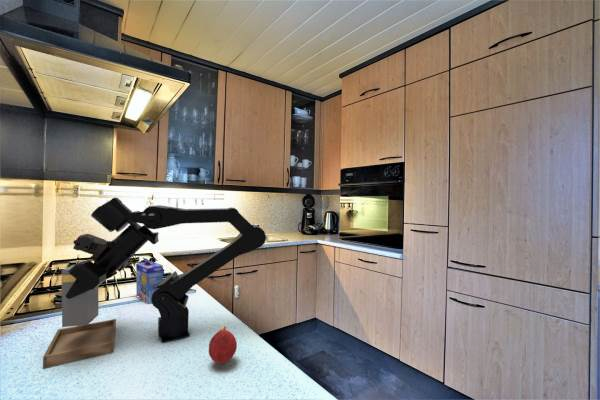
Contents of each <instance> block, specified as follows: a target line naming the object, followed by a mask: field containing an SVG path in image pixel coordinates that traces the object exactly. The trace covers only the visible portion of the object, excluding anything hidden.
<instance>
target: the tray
mask: <svg viewBox="0 0 600 400" xmlns="http://www.w3.org/2000/svg"><path fill="white" fill-rule="evenodd" d="M116 329H117V319H116V318H113V319H109V320H108V319H107V320H104V321H103V320H102V321H97V322H90V323H89V324H88V325H80V326H70V327H62V328H60V329H57V330H56V333H54V336H53V338H52V340H51V341H50V344H49V346H48V347H47V349H46V351H45V353H44V355H43V357H42V369H47V368H53V367H56V366H57V367H58V366H60V365H61V366H62V365H64V364H65V365H66V364H69V363H73V362H77V361H83V360H86V359H92V358H96V357H100V356H103V355H108V354H112V353H114V349H115V341H116V333H117V332H116Z"/></svg>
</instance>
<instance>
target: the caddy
mask: <svg viewBox="0 0 600 400" xmlns="http://www.w3.org/2000/svg"><path fill="white" fill-rule="evenodd" d="M74 265H75V264H73V265H70V266H68V267H65V268H63V269H62V270H61V276H60V277H61V328H68V327H74V326H80V325H88V324H91V323H92V322H93V321H94V320H95V319H96V318H97V317H98V316H99V286H98V287H96V288H95V289H93V290H89V291H87V292H84V293H82V294H80V295H78V296H75V297H73V298H71V299H68V298H66V297H65V296H66V294H67V293H68V291H69V290H70V288H71V286H72V285H73V283H74V282H75V280H76V278H74V277H73V276H72V275H71V274H69V270H70V269H71V268H72V267H73V266H74Z"/></svg>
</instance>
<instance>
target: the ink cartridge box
mask: <svg viewBox="0 0 600 400" xmlns="http://www.w3.org/2000/svg"><path fill="white" fill-rule="evenodd" d="M142 259H143V261H144V262H143V261H142V262H138V263H136V264H135V265H136V266H135V271H136V273H135V275H136V278H135V279H136V280H135V281H136V285H135V286H136V288H135V289H136V297H137V296H139V297H140V298H141V299H142V300H141V301H142V302H144V304H146V305H149V304H152V301H151V298H152V294H153V293H154V291H155V290H156V289H157V285H158V284H159V283H160V281H161V280H162V279H164V271H163V270H164V268H163V264H161V263H157V262H155V261H151V260H149V259H148V258H146V257H142Z"/></svg>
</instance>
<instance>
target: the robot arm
mask: <svg viewBox="0 0 600 400" xmlns="http://www.w3.org/2000/svg"><path fill="white" fill-rule="evenodd" d="M90 216H91V217H92V218H93V219H94V220H95V221H96V222H97V223H99V224H100V225H101V226H102V227H103V228H104V229H106V230H107V231H108V232H109V233H112V232H114V231H115V232H116V233H119V232H120V233H119V234H118V236H116V237H115V238H114V239H112V240H111V241H110V240H107V239H105V238H101V237H98V236H96V235H94V234H90V233H84V234H80V235H79V236H77V238H76V239H75V240H73V242H72V243H73V244H74V246H73V247H72V248H73V250H76V251H80V252H84V253H86V254H89V255H91V256H89V257H90V259H92V260H93V261H91V260H82V261H80V262H78V263H75V264H73V265H74V266H73V265H72V266H73V267H72V268H71V269H70V270H69V274H71V275H72V276H73V277H74V278H76V280H75V282H74V283H73V285H72V286H71V288H70V290H69V291H68V293H67V294H66V296H65V297H66V298H68V299H71V298H73V297H75V296H78V295H80V294H82V293H84V292H87V291H89V290H93V289H95V288H96V287H98V288H99V286H100V285H102V283H104V282H105V281H106V280H108V279H110V278H112V277H114V276H115V275H117V274H118V272H119V273H120V272H121V271H123V270H124V269H125V268H126V267H127V266H128V265H129V259H131V258H133V257H134V256H135V255H136V252H138V251H139V250H140V249H141V248H142V247H143V246H144V245H145V244H146V243H147V242H150V243H151V244H152V245H156V244H157V243H158V242H159V234H160V233H159V232H158V231H156V232H153V231H152V230H158V229H164V228H169V227H173V226H176V225H177V226H178V225H181V224H209V223H214V224H215V223H229V224H230V225H232V227H233V228H235V229H236V231H237V232H239V234H237V236H235V238H234V239H233V240H232V241H231V242H230V243H229V244H227V245H226V246H224V247H222V248H221V249H219V250H218V251H217V252H215V253H213V254H212V255H210V256H209V257H207V258H206V259H204V260H202V261H201V262H200V263H198V264H196V265H195V266H193V267H192V268H191V269H189V270H187V271H186V272H183V273H181V274H178V272H177V270H175V271H173V272H172V273H171V274H170V275H168V276H167V277H163V279H162V280H161V281H160V283H159V284H158V285H157V289H156V290H155V291H154V293H153V294H152V298H151V301H152V303H151V305H152V306H153V307H154V308H155V309H157V310H158V312H159V315H160V316H159V317H158V318H157V334H158V338H159V339H160V341H161V343H166V342H171V341H176V340H179V339H184V338H188V337H190V335H191V333H190V330H189V317H190V316H189V315H190V314H189V311H190V310H189V308H188V306H187V304H188V301H189V295H187V294H188V292H189V291H190V290H191V288H193V287H195V285H197V284H199V283H201V281H203V280H204V279H206V278H208V277H209V276H211V275H212V274H214V273H215V272H216V271H218V270H220V269H221V268H222V267H224V266H225V265H227V264H229V262H231V261H233V260H234V259H236V258H237V257H239V256H242V255H244V254H248V253H250V252H252V251H253V252H254V251H255V250H257V249H260V248H261V247H262V246H263V245H265V243H266V239H267V235H266V231H264V229H263V228H262V227H260V226H258V225H256V224H251V223H250V221H248V220H247V219H246V218H245V217H244V216H243V215H242V214H241V213H240V212H239V210H238V209H237V208H235V207H228V208H227V207H226V208H224V207H223V208H180V207H174V206H167V205H161V204H160V205H158V204H157V205H150V206H147V207H146V208H145V209H144V210H142V211H140V210H136V211H132V210H131V209H130V208H129V207H128V206H127V205H126V204H124V203H123V201H122V200H121V199H120V198H118V197H112V198H111V199H110V200H109V201H106V202H105V203H103V204H102V205H100V206H97V207H96V209H95V210H93V211H92V213H91V215H90ZM140 224H142V225H140ZM121 231H122V232H121Z"/></svg>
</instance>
